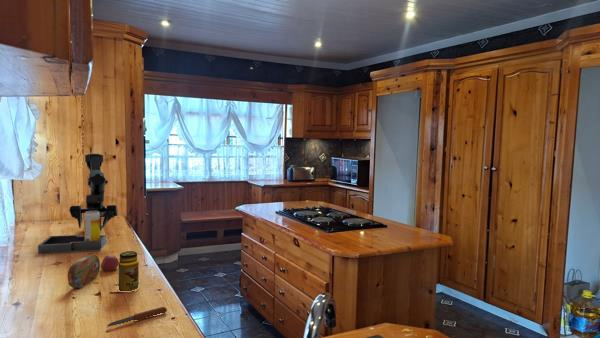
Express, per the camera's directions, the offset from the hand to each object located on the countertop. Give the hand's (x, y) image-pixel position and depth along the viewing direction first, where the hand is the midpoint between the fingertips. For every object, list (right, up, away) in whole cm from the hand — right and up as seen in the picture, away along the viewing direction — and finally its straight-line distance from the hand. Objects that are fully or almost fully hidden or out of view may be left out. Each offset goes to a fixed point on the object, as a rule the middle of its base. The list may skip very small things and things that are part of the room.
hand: (91, 227), depth 168 cm
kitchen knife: (+47, -17, -62) cm, 80 cm away
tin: (+18, -13, -38) cm, 44 cm away
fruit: (+21, -12, -24) cm, 35 cm away
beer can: (-1, -8, +2) cm, 9 cm away
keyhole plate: (-7, -9, 0) cm, 11 cm away
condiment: (+34, -14, -41) cm, 55 cm away
